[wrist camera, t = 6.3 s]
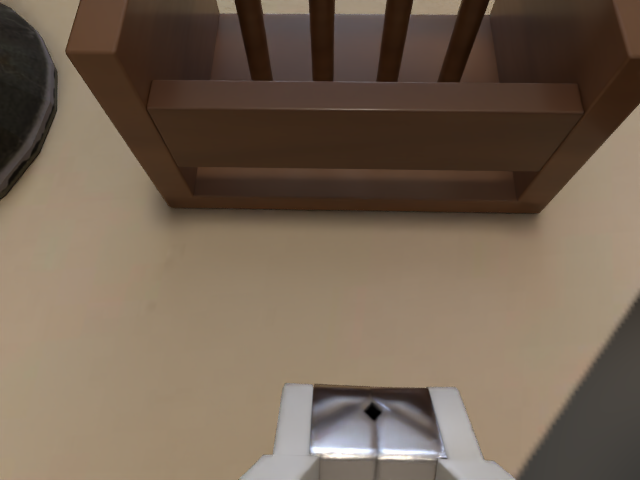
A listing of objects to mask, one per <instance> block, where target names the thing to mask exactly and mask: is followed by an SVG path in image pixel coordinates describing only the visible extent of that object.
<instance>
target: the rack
mask: <svg viewBox="0 0 640 480" xmlns="http://www.w3.org/2000/svg"><path fill="white" fill-rule="evenodd" d="M488 3H489V0H462V1H461V4H460V7H459V11H458V14H457V15H410V14H411V9H412V4H413V0H387V2H386V10H385V14H335V0H309V13H310V14H263V11H262V5H261V0H235V5H236V9H237V14H219V10H218V6H217V2H216V0H80V3H79V6H78V10H77V13H76V17H75V20H74V23H73V27H72V30H71V33H70V37H69V40H68V43H67V47H66V50H65V51H66V55H67V56H68V58H69V59H70V61H71V62H72V64H73V65H74V67H75V68H76V70H77V71H78V72H79V74H80V75H81V77H82V78H83V80H84V81H85V83H86V84H87V86H88V87H89V89H90V90H91V92H92V93H93V95H94V96H95V98H96V99H97V101H98V102H99V104H100V105H101V107H102V108H103V110H104V111H105V113H106V114H107V115H108V117H109V118H110V120H111V121H112V123H113V124H114V126H115V127H116V129H117V130H118V132H119V133H120V135H121V136H122V138H123V139H124V141H125V142H126V144H127V145H128V147H129V148H130V150H131V151H132V153H133V154H134V155H135V157H136V158H137V160H138V161H139V163H140V164H141V166H142V167H143V169H144V170H145V172H146V173H147V175H148V176H149V178H150V179H151V181H152V182H153V184H154V185H155V187H156V188H157V190H158V191H159V193H160V194H161V195H162V197H163V198H164V200H165V201H166V203H167V204H168V206H169V207H171V208H238V209H302V210H366V211H430V212H494V213H540V212H541V211H542V210H543V209H544V208H545V207H546V205H547V204H548V203H549V202H550V201H551V200H552V199H553V198H554V197H555V196H556V194H557V193H558V192H559V191H560V190H561V189H562V188H563V187H564V186H565V185H566V184H567V182H568V181H569V180H570V179H571V178H572V177H573V176H574V175H575V174H576V173H577V172H578V170H579V169H580V168H581V167H582V166H583V165H584V164H585V163H586V162H587V161H588V160H589V158H590V157H591V156H592V155H593V154H594V153H595V152H596V151H597V150H598V149H599V147H600V146H601V145H602V144H603V143H604V142H605V141H606V140H607V139H608V138H609V137H610V135H611V134H612V133H613V132H614V131H615V130H616V129H617V128H618V127H619V126H620V125H621V123H622V122H623V121H624V120H625V119H626V118H627V117H628V116H629V115H630V114H631V112H632V111H633V110H634V109H635V108H636V107H637V106H638V105H639V104H640V0H495V2H494V5H493V8H492V10H491V13H490V15H484V14H485V11H486V8H487V6H488Z"/></svg>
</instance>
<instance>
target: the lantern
mask: <svg viewBox="0 0 640 480" xmlns="http://www.w3.org/2000/svg"><path fill="white" fill-rule="evenodd" d="M56 106H57V70H56V68H55V66H54V63H53V61H52V59H51V56H50V54H49V52H48V50H47V47H46V45H45V43H44V41H43V39H42V38H41V36H40V35H39V33H38V32H37V31H36V30H35V29H34V28H33V27H32V26H31V25H29V24H28V23H27V22H26V21H25V20H24V19H23V18H21V17H20V16H19V15H18V14H17V13H16V12H15V11H13V10H12V9H11V8H10V7H7V6H5V5H3V4H1V3H0V198H2V197H3V196H4V195H6V193H7V192H8V191H9V190H10V188H11V187H12V186H13V185H14V183H15V182H16V181H17V180H18V178H19V177H20V176H21V175H22V173H23V172H24V171H25V170H26V168H27V167H28V166H29V165H30V163H31V162H32V161H33V160H34V158H35V157H36V156H37V155H38V153H39V152H40V150H41V147H42V145H43V142H44V140H45V137H46V135H47V132H48V130H49V127H50V125H51V122H52V120H53V117H54V115H55V112H56Z"/></svg>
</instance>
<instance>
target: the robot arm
mask: <svg viewBox="0 0 640 480" xmlns="http://www.w3.org/2000/svg"><path fill="white" fill-rule="evenodd" d="M238 480H516V479H515V478H514V477H513V476H512V475H510V474H509V473H508V472H507V471H506V470H504V469H503V468H502V467H501V466H500V465H498V464H497V463H496V462H495V461H486V460H484V458H483V455H482V452H481V449H480V447H479V444H478V441H477V438H476V436H475V433H474V430H473V428H472V425H471V422H470V419H469V417H468V414H467V411H466V408H465V406H464V403H463V400H462V398H461V395H460V392H459V390H458V389H457V388H456V387H426V388H414V387H370V386H350V385H328V384H314V387H313V385H312V384H297V383H285V385H284V387H283V389H282V396H281V403H280V409H279V416H278V423H277V429H276V436H275V443H274V449H273V455H263V456H262V457H261V458H260V459H259V460H258V461H257V462H256V463H255V464H254V465H253V466H252V467H251V468H250V469H249V470H248V471H247V472H246V473H245V474H244V475H243V476H242V477H241V478H239V479H238Z"/></svg>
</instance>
